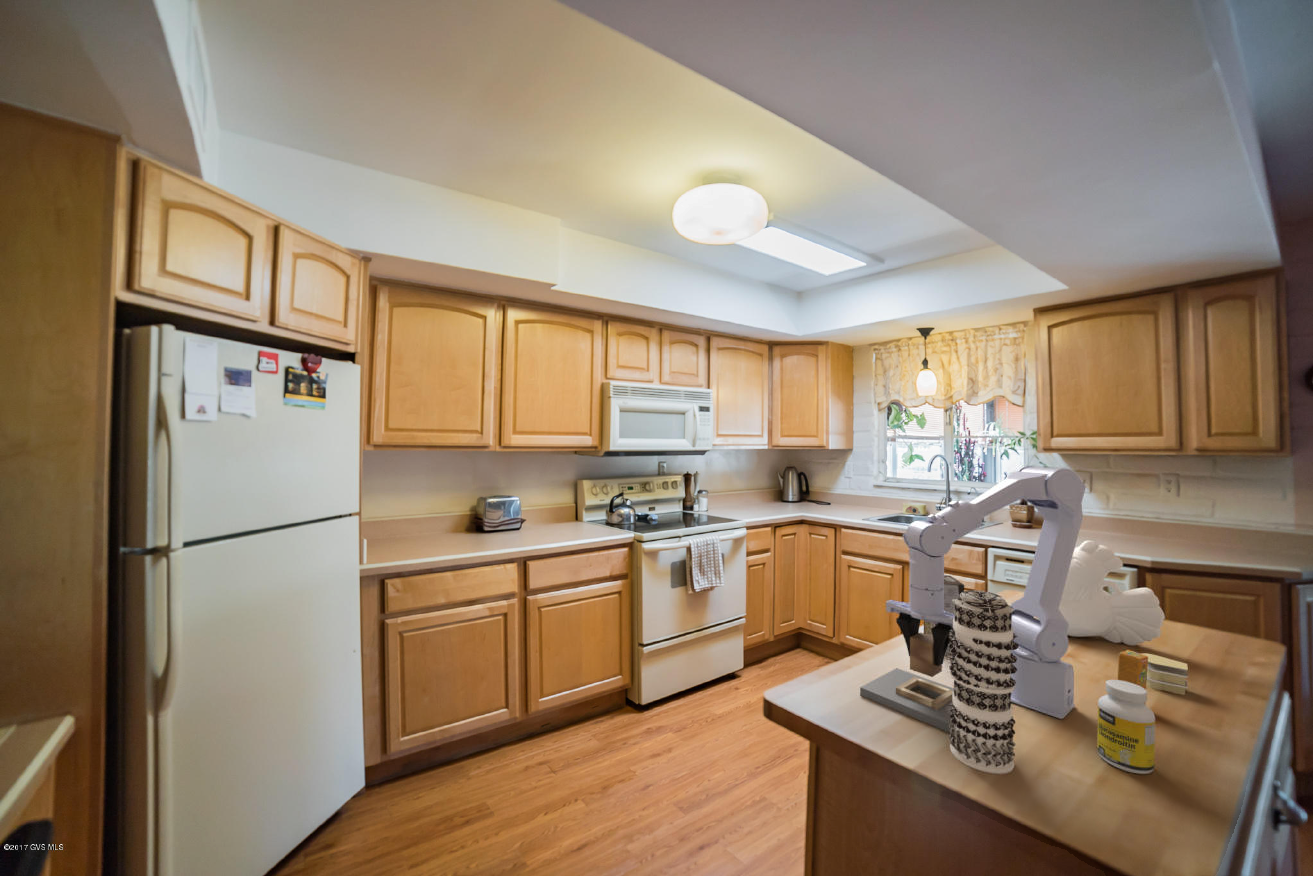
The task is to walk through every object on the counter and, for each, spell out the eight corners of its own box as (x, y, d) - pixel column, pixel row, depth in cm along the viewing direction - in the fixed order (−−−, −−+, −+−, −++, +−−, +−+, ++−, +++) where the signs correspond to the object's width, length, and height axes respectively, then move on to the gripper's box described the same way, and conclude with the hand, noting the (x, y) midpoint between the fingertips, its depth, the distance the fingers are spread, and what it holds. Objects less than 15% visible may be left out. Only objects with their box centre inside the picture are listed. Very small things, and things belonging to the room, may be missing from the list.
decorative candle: (1028, 762, 79) (1030, 597, 79) (999, 783, 74) (1000, 607, 74) (966, 733, 87) (967, 583, 87) (935, 751, 82) (937, 591, 82)
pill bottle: (1086, 750, 82) (1086, 677, 82) (1123, 749, 83) (1124, 676, 83) (1126, 777, 76) (1127, 697, 76) (1167, 775, 76) (1167, 696, 76)
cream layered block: (1197, 689, 104) (1197, 662, 104) (1199, 705, 98) (1199, 676, 98) (1130, 673, 111) (1130, 647, 111) (1127, 687, 105) (1128, 660, 105)
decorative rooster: (1004, 599, 139) (1065, 538, 125) (1032, 581, 147) (1093, 521, 132) (1100, 683, 124) (1183, 624, 109) (1126, 657, 132) (1207, 599, 117)
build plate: (994, 711, 94) (994, 697, 94) (961, 738, 85) (961, 722, 85) (896, 675, 108) (896, 663, 108) (860, 695, 100) (860, 682, 100)
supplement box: (1139, 714, 94) (1140, 658, 94) (1116, 705, 97) (1116, 651, 97) (1148, 710, 95) (1148, 655, 95) (1124, 701, 98) (1124, 648, 98)
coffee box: (965, 655, 119) (965, 584, 119) (934, 653, 120) (934, 583, 120) (950, 640, 128) (951, 574, 128) (922, 638, 129) (923, 573, 129)
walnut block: (941, 671, 96) (942, 638, 97) (932, 677, 94) (932, 643, 94) (919, 663, 100) (920, 632, 100) (909, 669, 97) (910, 637, 97)
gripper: (878, 581, 100) (877, 652, 100) (959, 600, 89) (958, 680, 89) (896, 575, 104) (895, 643, 104) (975, 593, 93) (975, 669, 93)
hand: (925, 659), depth 97 cm, fingers closed on walnut block, 4 cm apart
